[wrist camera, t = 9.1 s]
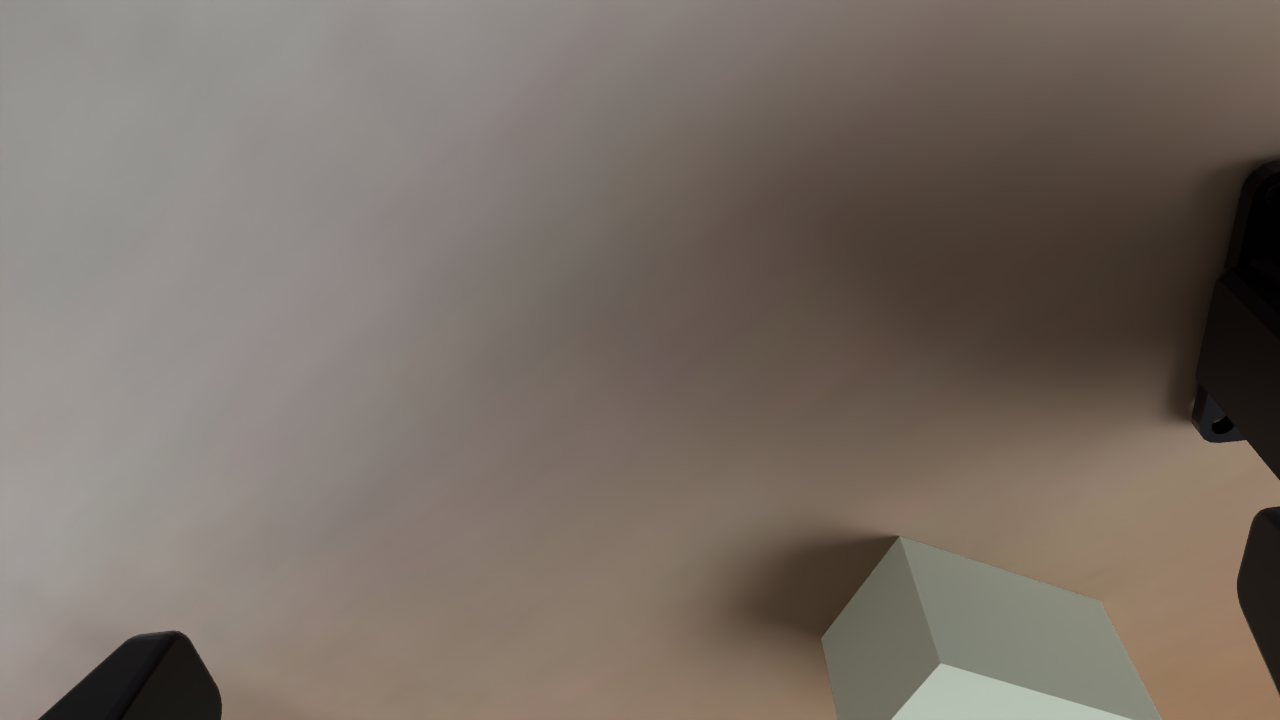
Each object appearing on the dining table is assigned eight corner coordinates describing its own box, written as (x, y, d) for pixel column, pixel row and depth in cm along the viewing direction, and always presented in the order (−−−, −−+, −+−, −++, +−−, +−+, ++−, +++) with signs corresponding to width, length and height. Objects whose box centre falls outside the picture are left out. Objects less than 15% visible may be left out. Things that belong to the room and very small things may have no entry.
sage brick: (1098, 596, 26) (1167, 729, 23) (1009, 689, 28) (1060, 823, 25) (898, 532, 25) (940, 663, 21) (820, 634, 27) (847, 769, 23)
